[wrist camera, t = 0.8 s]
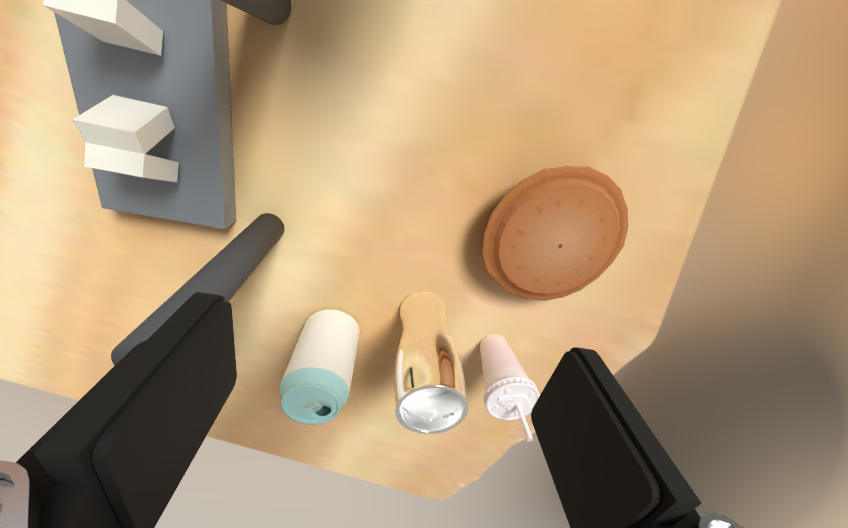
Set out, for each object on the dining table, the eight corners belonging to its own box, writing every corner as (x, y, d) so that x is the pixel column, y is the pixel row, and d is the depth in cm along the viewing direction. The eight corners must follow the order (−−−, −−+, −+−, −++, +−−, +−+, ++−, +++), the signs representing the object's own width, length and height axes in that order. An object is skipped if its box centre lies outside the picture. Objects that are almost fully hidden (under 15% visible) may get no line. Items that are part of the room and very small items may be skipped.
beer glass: (397, 332, 44) (395, 437, 31) (394, 288, 40) (390, 386, 27) (449, 329, 44) (468, 433, 31) (450, 286, 41) (472, 382, 28)
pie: (518, 134, 33) (536, 142, 28) (637, 190, 36) (670, 204, 32) (453, 261, 39) (460, 283, 35) (560, 297, 43) (578, 322, 38)
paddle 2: (177, 182, 30) (142, 177, 25) (128, 173, 29) (84, 166, 25) (178, 162, 29) (144, 153, 25) (129, 152, 29) (85, 142, 24)
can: (363, 311, 42) (351, 386, 31) (356, 351, 45) (342, 432, 35) (307, 302, 41) (274, 377, 30) (303, 344, 44) (272, 425, 33)
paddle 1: (161, 55, 25) (115, 23, 21) (102, 41, 24) (43, 5, 20) (163, 30, 25) (117, -7, 21) (103, 15, 24) (44, -27, 20)
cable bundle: (283, 241, 37) (174, 384, 19) (255, 236, 36) (117, 378, 19) (284, 216, 35) (168, 346, 18) (255, 210, 35) (105, 339, 17)
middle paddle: (174, 127, 28) (144, 154, 25) (122, 116, 27) (85, 142, 25) (167, 107, 27) (134, 132, 24) (112, 94, 26) (72, 119, 23)
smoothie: (502, 364, 48) (537, 461, 36) (462, 355, 47) (484, 452, 34) (523, 332, 45) (568, 424, 33) (481, 321, 44) (512, 413, 32)
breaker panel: (236, 220, 35) (224, 229, 33) (121, 200, 33) (102, 207, 31) (225, -12, 26) (209, -21, 24) (67, -56, 24) (34, -71, 22)
